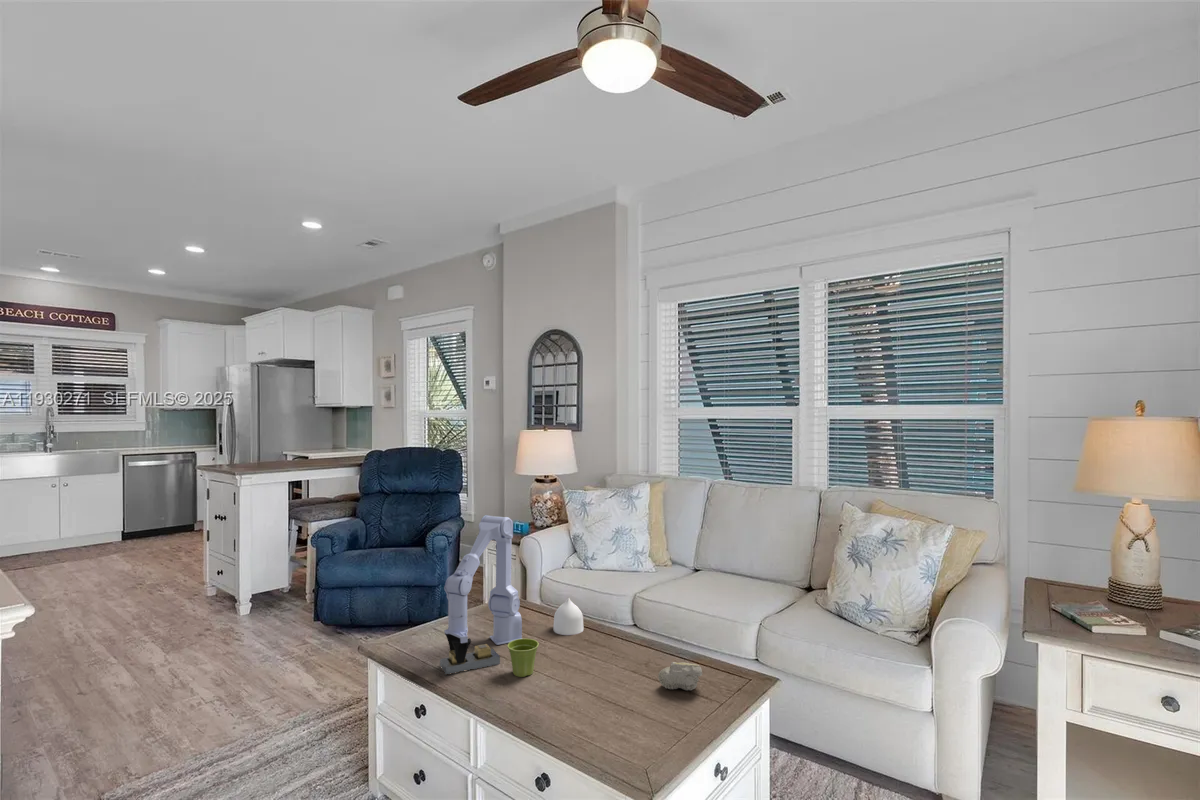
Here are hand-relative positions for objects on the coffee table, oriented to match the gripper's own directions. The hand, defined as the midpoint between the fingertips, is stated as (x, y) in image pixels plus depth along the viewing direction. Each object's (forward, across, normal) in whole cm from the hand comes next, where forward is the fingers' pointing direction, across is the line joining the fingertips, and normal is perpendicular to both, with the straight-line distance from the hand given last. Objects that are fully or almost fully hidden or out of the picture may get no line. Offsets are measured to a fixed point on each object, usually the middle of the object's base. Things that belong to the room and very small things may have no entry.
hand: (457, 658), depth 186 cm
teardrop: (+3, -13, +44) cm, 46 cm away
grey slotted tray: (+3, 0, +4) cm, 5 cm away
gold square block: (+3, 0, 0) cm, 3 cm away
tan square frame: (+3, 0, +8) cm, 9 cm away
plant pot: (+3, +13, +16) cm, 21 cm away
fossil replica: (+3, +44, +52) cm, 69 cm away
